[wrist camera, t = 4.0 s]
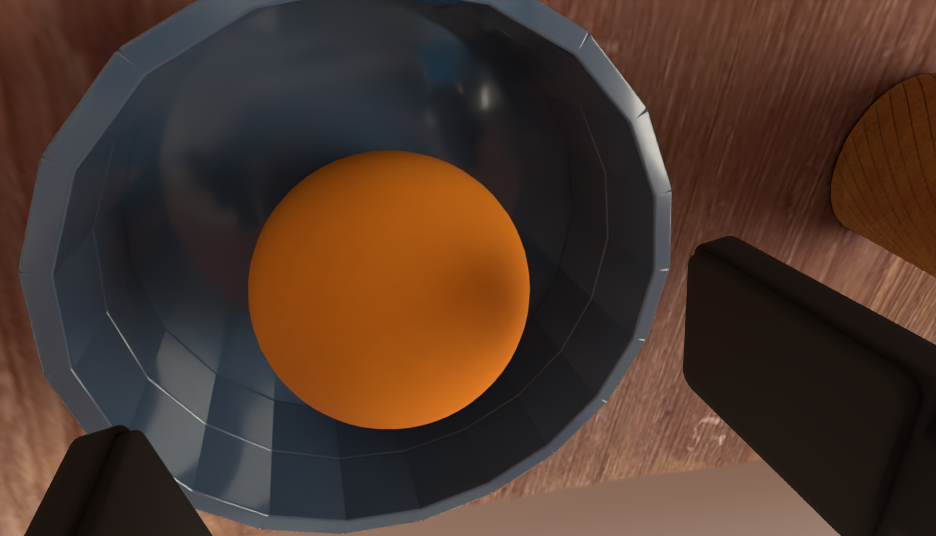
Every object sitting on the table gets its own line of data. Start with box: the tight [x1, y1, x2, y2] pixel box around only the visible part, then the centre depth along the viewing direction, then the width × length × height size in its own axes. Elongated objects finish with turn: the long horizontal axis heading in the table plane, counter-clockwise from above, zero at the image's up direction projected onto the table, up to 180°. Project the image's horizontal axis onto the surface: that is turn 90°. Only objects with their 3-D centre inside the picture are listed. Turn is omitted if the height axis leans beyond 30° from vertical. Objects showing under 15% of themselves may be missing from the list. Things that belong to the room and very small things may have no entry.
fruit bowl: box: [18, 0, 672, 534], centre depth 14 cm, size 13×13×5 cm
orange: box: [248, 150, 530, 429], centre depth 12 cm, size 6×6×6 cm
